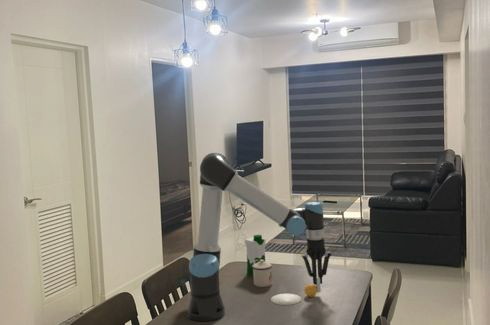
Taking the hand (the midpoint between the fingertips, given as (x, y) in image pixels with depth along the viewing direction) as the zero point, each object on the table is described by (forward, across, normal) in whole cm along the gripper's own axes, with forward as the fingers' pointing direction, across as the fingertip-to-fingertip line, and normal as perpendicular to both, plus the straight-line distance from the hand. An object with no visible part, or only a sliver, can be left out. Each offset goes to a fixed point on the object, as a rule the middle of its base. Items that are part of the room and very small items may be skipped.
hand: (318, 291), depth 219 cm
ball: (-1, -3, 0) cm, 3 cm away
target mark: (+2, -15, 0) cm, 15 cm away
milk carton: (+2, -20, +38) cm, 43 cm away
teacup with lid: (+2, -20, +24) cm, 31 cm away
